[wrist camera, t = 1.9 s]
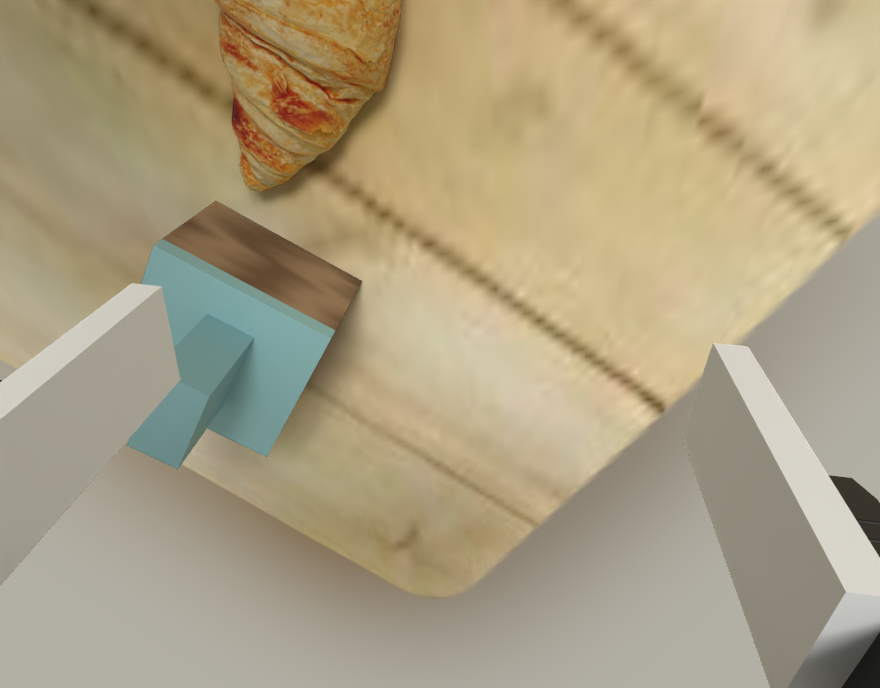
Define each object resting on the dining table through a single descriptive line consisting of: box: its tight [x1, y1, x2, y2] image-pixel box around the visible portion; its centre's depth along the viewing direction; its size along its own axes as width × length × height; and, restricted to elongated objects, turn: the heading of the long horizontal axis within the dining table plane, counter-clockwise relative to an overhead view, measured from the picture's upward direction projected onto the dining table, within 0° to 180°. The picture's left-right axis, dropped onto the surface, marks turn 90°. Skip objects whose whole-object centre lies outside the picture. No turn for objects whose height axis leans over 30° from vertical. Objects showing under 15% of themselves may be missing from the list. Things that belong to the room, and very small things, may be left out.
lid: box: [127, 239, 335, 469], centre depth 36 cm, size 11×11×9 cm
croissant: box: [215, 0, 402, 191], centre depth 32 cm, size 21×10×8 cm, turn 155°
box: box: [163, 201, 362, 330], centre depth 41 cm, size 11×11×7 cm
